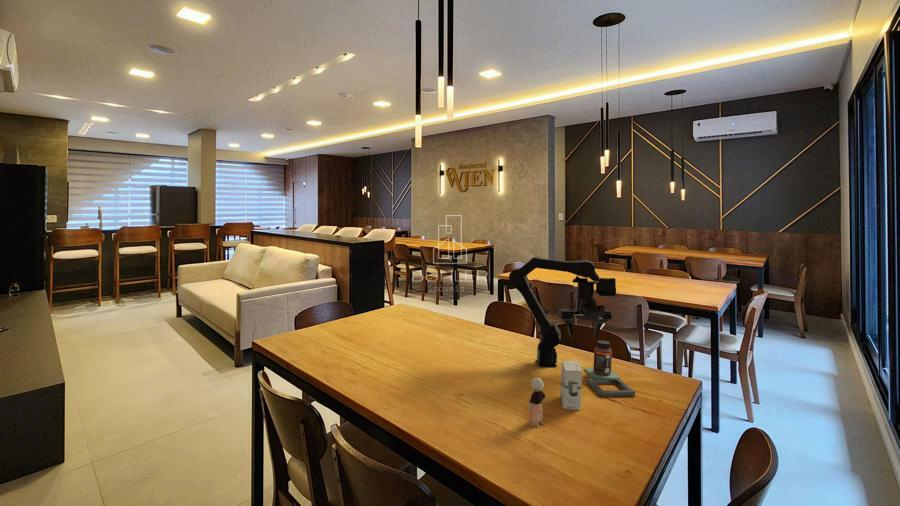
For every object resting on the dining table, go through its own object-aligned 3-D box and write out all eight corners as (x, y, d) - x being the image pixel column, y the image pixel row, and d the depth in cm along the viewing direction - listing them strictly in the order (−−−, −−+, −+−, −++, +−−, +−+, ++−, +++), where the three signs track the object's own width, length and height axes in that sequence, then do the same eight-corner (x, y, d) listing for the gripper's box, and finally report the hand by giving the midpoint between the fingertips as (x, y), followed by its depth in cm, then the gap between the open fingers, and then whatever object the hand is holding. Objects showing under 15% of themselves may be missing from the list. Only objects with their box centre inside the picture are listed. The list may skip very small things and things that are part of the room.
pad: (595, 379, 142) (595, 378, 142) (584, 370, 151) (584, 368, 151) (620, 379, 143) (620, 377, 143) (608, 369, 152) (608, 368, 152)
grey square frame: (601, 396, 128) (601, 392, 128) (586, 382, 139) (587, 378, 139) (634, 396, 129) (635, 391, 129) (618, 382, 140) (618, 378, 140)
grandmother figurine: (534, 416, 115) (536, 372, 114) (547, 420, 113) (549, 375, 112) (522, 427, 109) (524, 381, 107) (536, 432, 106) (538, 385, 105)
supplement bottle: (612, 376, 143) (614, 345, 143) (594, 375, 145) (596, 343, 144) (609, 370, 149) (610, 340, 148) (592, 369, 151) (593, 338, 150)
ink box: (559, 396, 128) (561, 359, 127) (576, 397, 128) (577, 360, 127) (563, 409, 120) (565, 369, 119) (580, 410, 119) (582, 371, 118)
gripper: (568, 299, 141) (566, 343, 143) (620, 299, 143) (618, 343, 144) (557, 293, 153) (555, 334, 154) (606, 293, 154) (604, 334, 155)
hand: (583, 336), depth 152 cm, fingers open, 9 cm apart
